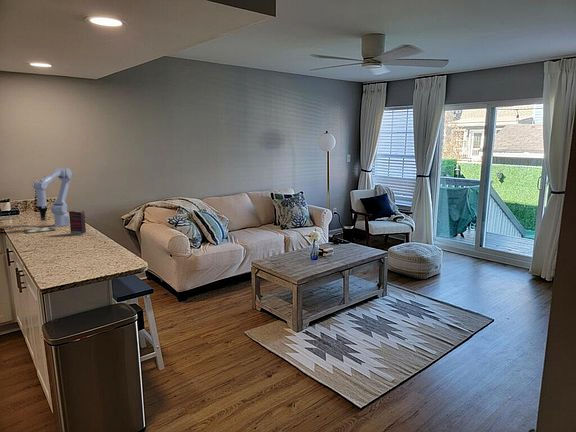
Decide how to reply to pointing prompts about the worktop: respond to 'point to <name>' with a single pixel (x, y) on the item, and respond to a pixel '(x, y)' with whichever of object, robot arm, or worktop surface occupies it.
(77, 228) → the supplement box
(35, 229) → the clipboard
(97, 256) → the worktop surface
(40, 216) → the marker
